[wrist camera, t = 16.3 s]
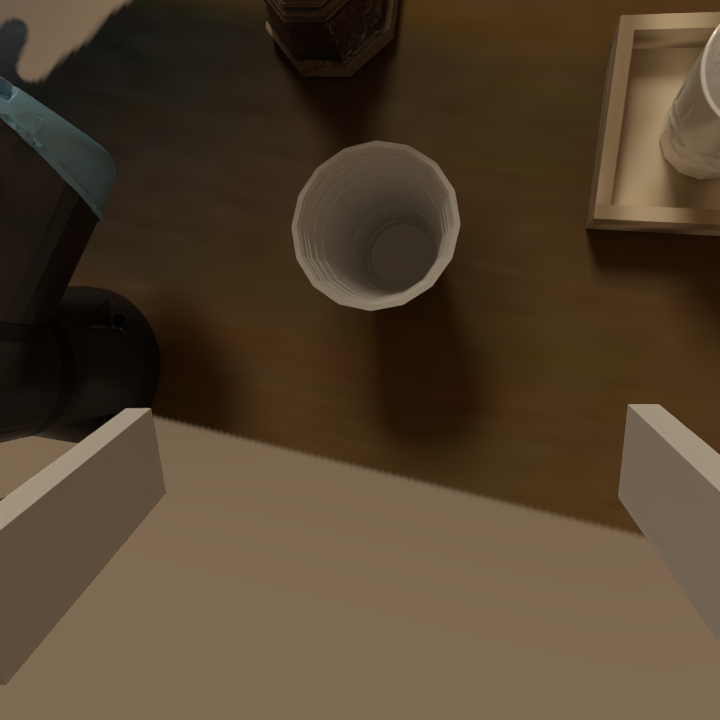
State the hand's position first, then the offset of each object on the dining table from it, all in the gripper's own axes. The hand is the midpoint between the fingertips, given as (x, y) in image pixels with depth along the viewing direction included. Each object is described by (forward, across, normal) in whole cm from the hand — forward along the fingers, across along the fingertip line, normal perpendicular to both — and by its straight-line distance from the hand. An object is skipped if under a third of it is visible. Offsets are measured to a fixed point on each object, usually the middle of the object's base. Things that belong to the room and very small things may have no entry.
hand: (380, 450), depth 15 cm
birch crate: (+31, +22, +10) cm, 39 cm away
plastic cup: (+32, 0, +2) cm, 32 cm away
